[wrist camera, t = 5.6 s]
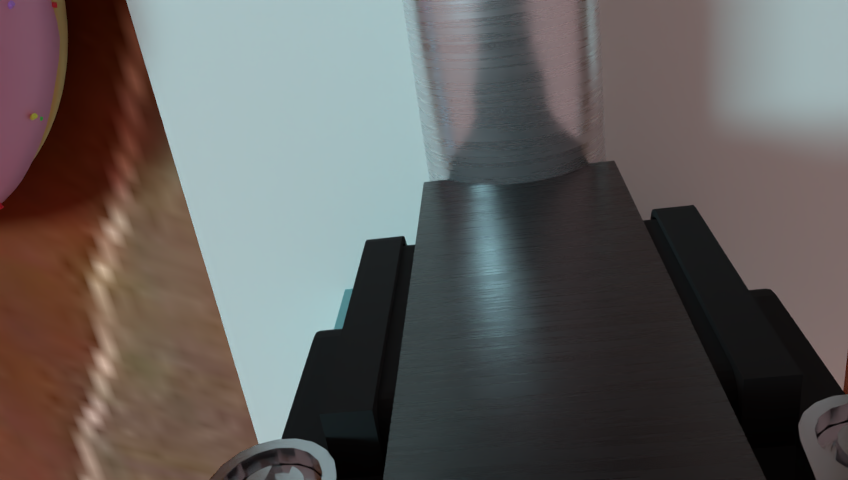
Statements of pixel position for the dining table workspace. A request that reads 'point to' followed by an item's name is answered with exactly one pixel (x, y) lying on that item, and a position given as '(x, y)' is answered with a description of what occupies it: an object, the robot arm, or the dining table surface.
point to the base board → (407, 167)
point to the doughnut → (29, 82)
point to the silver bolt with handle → (540, 273)
